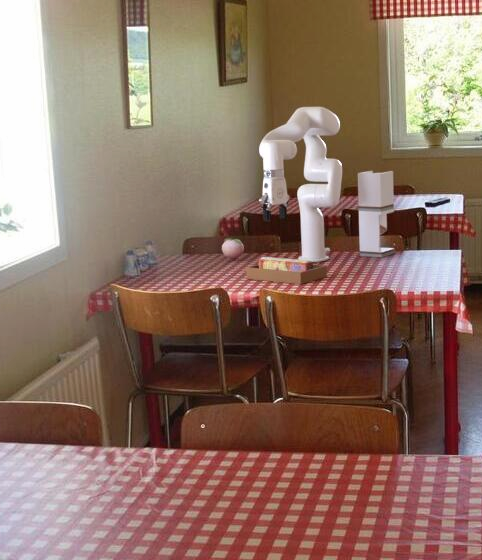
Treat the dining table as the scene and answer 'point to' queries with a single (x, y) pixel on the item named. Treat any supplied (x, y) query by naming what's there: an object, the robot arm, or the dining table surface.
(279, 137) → the robot arm
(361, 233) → the coffee grinder
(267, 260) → the snack package
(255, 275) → the brown cardboard tray
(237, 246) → the decorative fruit
